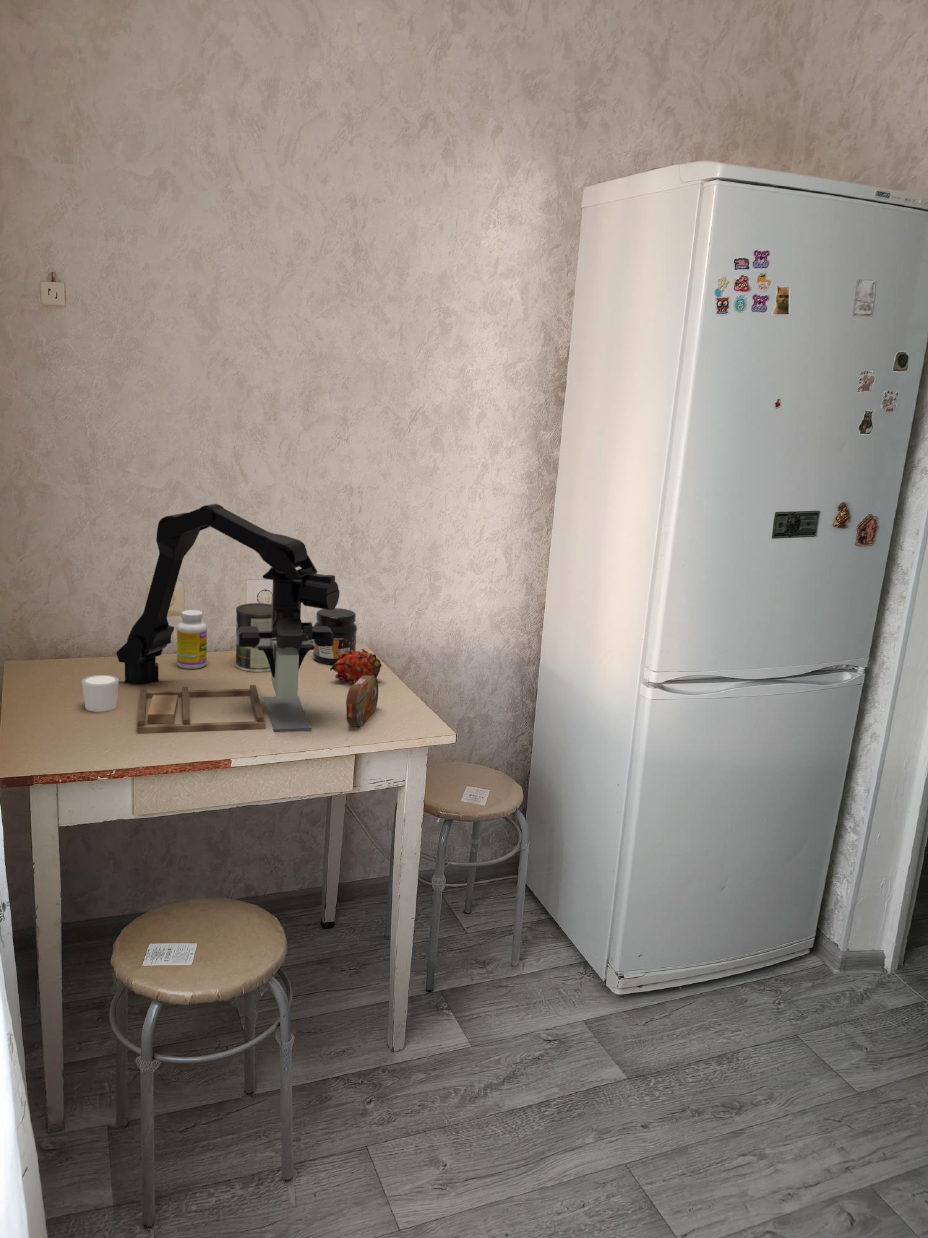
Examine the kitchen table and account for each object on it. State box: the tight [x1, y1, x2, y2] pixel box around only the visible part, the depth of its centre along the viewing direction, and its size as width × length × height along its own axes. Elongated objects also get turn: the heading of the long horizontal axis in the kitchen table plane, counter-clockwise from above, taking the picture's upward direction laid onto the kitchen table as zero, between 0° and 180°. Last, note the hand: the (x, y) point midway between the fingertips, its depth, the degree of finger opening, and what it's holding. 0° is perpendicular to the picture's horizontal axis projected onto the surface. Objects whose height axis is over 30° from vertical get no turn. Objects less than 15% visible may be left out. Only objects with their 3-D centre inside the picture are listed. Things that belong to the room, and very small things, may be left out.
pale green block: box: [270, 641, 300, 699], centre depth 193 cm, size 4×12×9 cm, turn 17°
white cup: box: [81, 674, 120, 713], centre depth 188 cm, size 7×7×7 cm
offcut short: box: [147, 695, 179, 725], centre depth 187 cm, size 5×11×2 cm, turn 13°
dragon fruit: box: [329, 648, 383, 684], centre depth 218 cm, size 8×8×12 cm
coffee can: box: [234, 602, 272, 673], centre depth 223 cm, size 10×10×14 cm
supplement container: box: [312, 607, 358, 666], centre depth 233 cm, size 10×10×12 cm
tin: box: [345, 675, 379, 727], centre depth 195 cm, size 15×3×8 cm, turn 168°
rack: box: [137, 684, 266, 735], centre depth 189 cm, size 23×20×4 cm
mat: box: [262, 695, 311, 733], centre depth 195 cm, size 8×19×1 cm, turn 17°
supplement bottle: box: [176, 609, 208, 670], centre depth 220 cm, size 7×7×13 cm
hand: (284, 676), depth 193 cm, fingers closed on pale green block, 4 cm apart
